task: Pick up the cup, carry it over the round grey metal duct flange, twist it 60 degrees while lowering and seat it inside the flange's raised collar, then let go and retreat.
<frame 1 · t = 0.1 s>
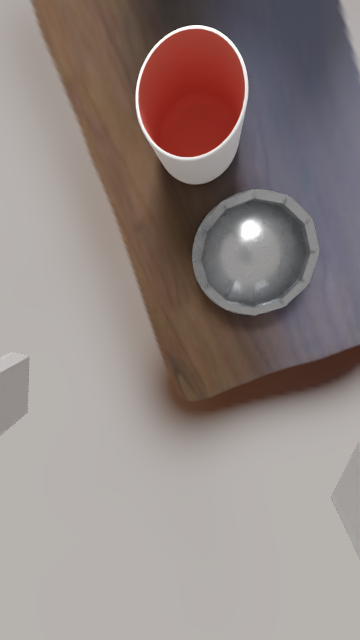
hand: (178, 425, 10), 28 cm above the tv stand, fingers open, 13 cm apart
duct flange: (251, 255, 34), on the tv stand
cup: (198, 143, 32), on the tv stand
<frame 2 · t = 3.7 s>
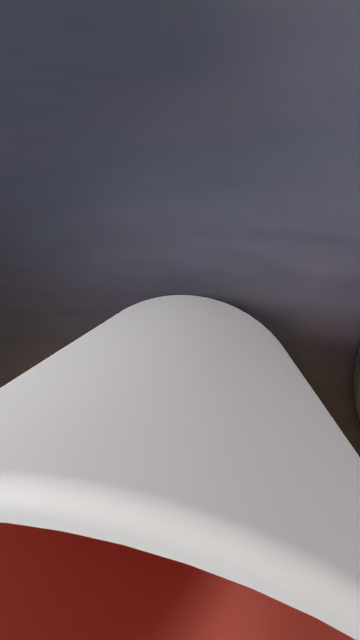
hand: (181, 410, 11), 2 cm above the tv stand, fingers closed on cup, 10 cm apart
cup: (187, 386, 13), on the tv stand, touching gripper
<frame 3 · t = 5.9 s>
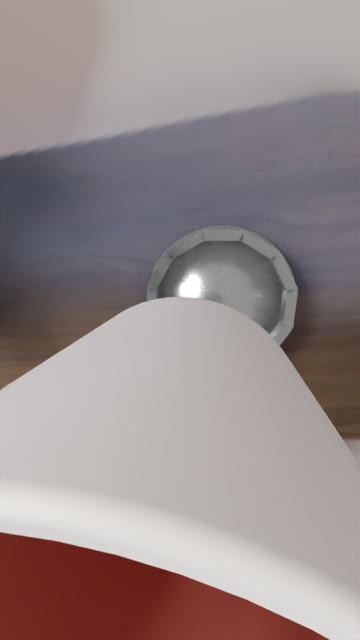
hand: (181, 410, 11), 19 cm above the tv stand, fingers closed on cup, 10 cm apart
duct flange: (218, 302, 28), on the tv stand
cup: (186, 388, 13), point 17 cm above the tv stand, touching gripper
when the fingers open (5 cm above the tv stand, at t = 8.5 s): cup drops 2 cm, resting on duct flange.
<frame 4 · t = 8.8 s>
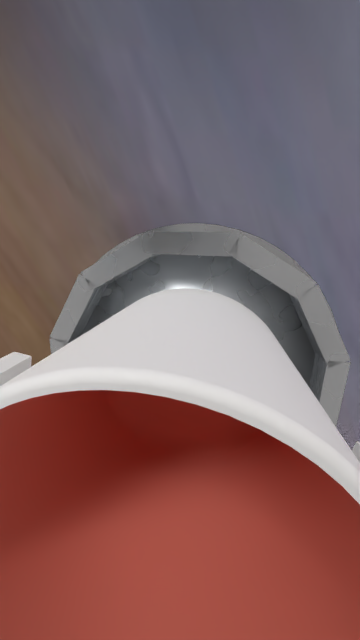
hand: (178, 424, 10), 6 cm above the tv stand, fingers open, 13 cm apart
duct flange: (191, 363, 15), on the tv stand
cup: (190, 369, 15), point 1 cm above the tv stand, touching duct flange
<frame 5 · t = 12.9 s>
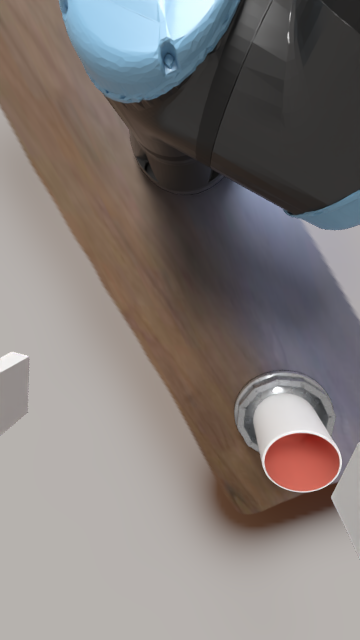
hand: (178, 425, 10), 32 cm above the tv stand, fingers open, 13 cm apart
duct flange: (281, 412, 44), on the tv stand
cup: (282, 415, 43), point 1 cm above the tv stand, touching duct flange
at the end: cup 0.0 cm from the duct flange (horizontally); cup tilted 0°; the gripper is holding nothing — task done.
